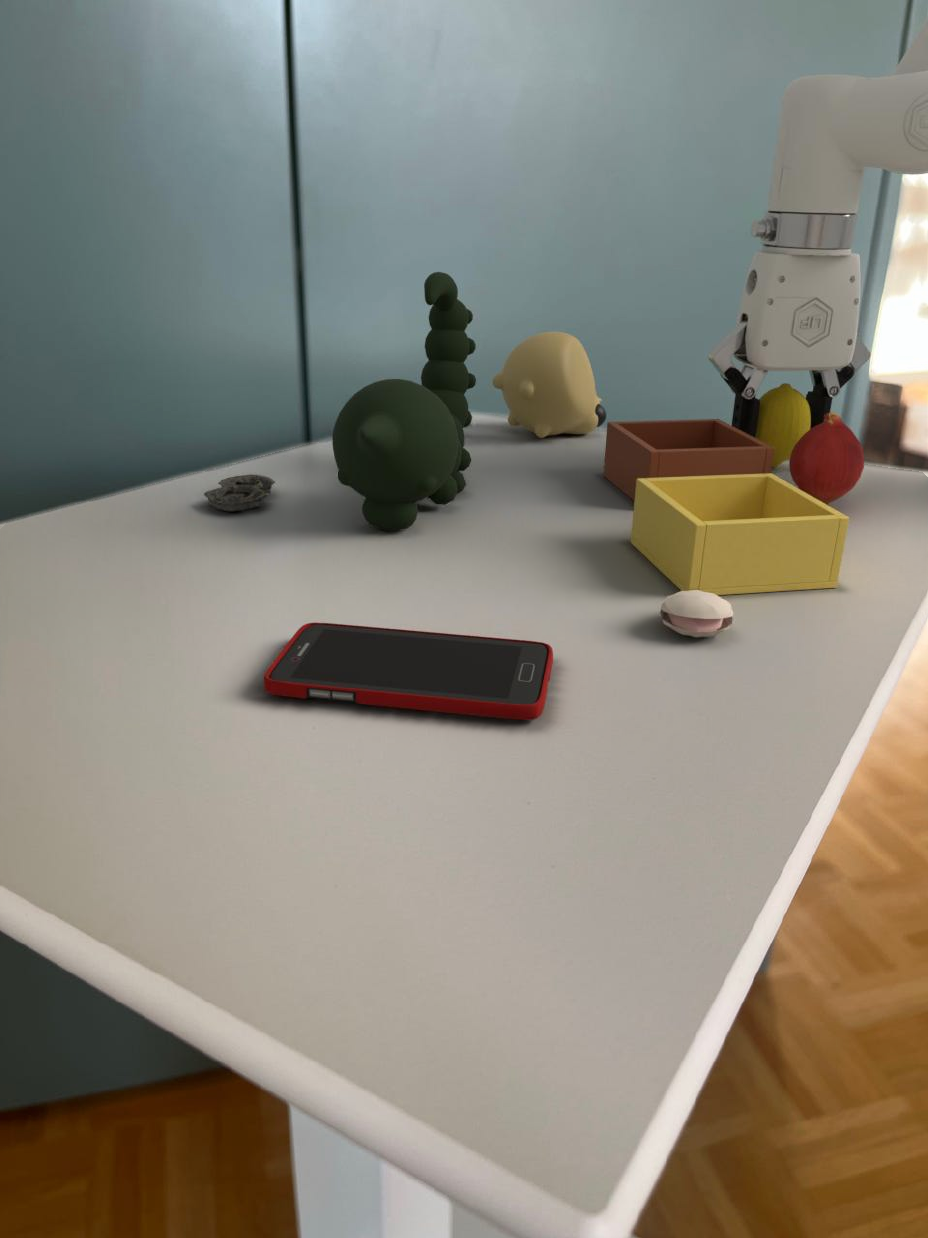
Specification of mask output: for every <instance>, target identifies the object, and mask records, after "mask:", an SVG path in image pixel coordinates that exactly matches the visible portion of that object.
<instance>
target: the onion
mask: <svg viewBox="0 0 928 1238" xmlns="http://www.w3.org/2000/svg"><path fill="white" fill-rule="evenodd" d="M824 418H825V420H824V422H823V423H821V424H819V425H817V426H815V427H813V428H812V429H810V430H809V431H807V432H806V433H805V434H804V435H803V436H802V437H801V438H800V439H799V441H798V442H797V443H796V445H795V446H794V448H793V450H792V452H791V456H790V460H788V461H789V473H790V476H791V479H792V481H793V482H794V484H795V485H796V486H797V488H798V489H800V490H802V491H803V492H805V493H807V494H809V495H810V496H812V497H814V498H816V499H817V500H819V501H821V502H823V503H824V504H826V505H828V504H830V503H832V502H835V501H836V500H838V499H840V498H842V497H844V496H845V495H846V494H847V493H849V492H850V491H851V490H852V489H853V488H854V487H855V486H856V484H857V483H858V482H859V480H860V479H861V477H862V474H863V472H864V469H865V454H864V449H863V446H862V444H861V442H860V440H859V439H858V438H857V435H855V433H854V432H853V430H852V429H851V428H850V427H848V425H846V424H845V423H844V421H843V420H842V418H841V416H840V415H839V414H838V413H837V412H835V411H830V413H828V414H826V415H824Z"/></svg>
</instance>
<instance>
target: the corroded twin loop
mask: <svg viewBox="0 0 928 1238" xmlns="http://www.w3.org/2000/svg"><path fill="white" fill-rule="evenodd" d="M217 484H218V485H219V486H221V487H218V488H214V489H211V490H207V491H206V492H204V496H205V497H206V498H207V501H208V503H209V504H210V505H211V506H212V507H213V508H215V509H217V510H220V511H225V512H237V511H245V510H248V509H253V508H259V507H261V506H262V505H263V502H264V501H263V500H264V499H263V498H264V497H265V496H267V495H269V494H271V492H272V491H271V490H272V487H273V485H275V484H276V481H275V480H274V479H273V478H271V477H269V476H264V475H260V474H242V475H235V476H231V477H230V476H229V477H226V478H223V479H221V480H219V482H217Z"/></svg>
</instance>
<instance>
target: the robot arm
mask: <svg viewBox="0 0 928 1238" xmlns="http://www.w3.org/2000/svg"><path fill="white" fill-rule="evenodd" d="M781 98H782V99H781V104H780V109H779V117H778V118H779V119H778V125H777V126H778V128H777V134H776V143H775V148H774V156H773V164H772V172H771V179H770V186H769V187H770V188H769V194H768V201H767V209H766V212H765V213H764V216H763V219H761V220H754V221H753V222H752V223H751V226H750V235H751V236H752V237H753V238H759V239H760V244H761V250H755V251H754V254H753V257H752V259H751V262H750V266H749V269H748V272H747V275H746V278H745V282H744V285H743V289H742V294H741V298H740V303H739V306H738V311H737V317H736V324H735V328H733V329H732V330H731V332H729V333H728V334H727V335H725V337H724V338H722V339H721V341H720V342H719V343H717V344H716V345H715V346H714V347H713V348H712V349H711V350H709V353H708V354H707V359H708V361H710V363H711V364H712V366H713V367H714V368H715V370H716V371H717V372H718V373H719V374H720V377H721V378H722V379H723V381H724V382H725V383H726V384H727V386H728V387H729V388H730V391H731V392H732V394H734V402H733V409H732V410H733V411H732V418H731V426H733V427H735V428H737V429H739V430H741V431H743V432H745V433H747V434H749V435H750V436H752V437H754V438H755V436H756V429H757V422H758V414H759V407H760V401H759V399H760V398H756V395H757V393H758V390H759V389H760V386H761V385H762V383H763V381H764V379H765V378H766V376H767V374H768V372H770V371H771V372H775V371H776V372H778V371H779V372H790V371H793V372H795V371H808V372H809V377H810V379H811V383H812V390H809V391H807V393H806V395H805V398H806V400H807V402H808V404H809V407H810V414H811V426H810V429H812V428H813V427H815V426H817V425H819V424H821V423H823V422H824V420H825V418H824V415H826V414H828V413H830V412H831V409H832V404H833V398H836V397H837V396H839V395H840V392H841V389H842V388H843V387H844V386H845V385H846V384H847V383H848V382H849V381H850V380H851V379H852V378H853V377H854V375H855V373H856V372H858V371H859V370H860V369H861V368H862V367H863V366H864V365H865V364H866V363H867V362H868V360H869V359H870V358H871V356H872V355H871V352H870V350H869V349H868V348H867V347H868V346H866V345H865V343H864V342H863V340H862V339H861V338H860V337H859V336H858V329H859V321H860V309H861V308H860V307H861V293H862V291H861V290H862V289H861V288H862V285H861V284H862V279H861V278H862V276H861V256H860V254H859V253H854V252H852V248H853V243H854V237H855V232H856V231H855V230H856V224H857V219H858V213H859V212H858V211H859V207H860V206H859V205H860V200H861V193H862V187H863V182H864V181H863V180H864V176H865V171H866V168H874V169H883V170H885V171H887V172H890V173H894V174H899V175H911V176H913V175H925V174H926V175H927V174H928V16H927V17H926V18H925V19H924V21H923V23H922V25H921V26H920V28H919V30H918V31H917V33H916V34H915V36H914V37H913V39H912V41H911V43H910V44H909V46H908V48H907V50H906V51H905V52H904V54H903V56H902V58H901V60H900V61H899V62H898V64H897V66H896V67H895V70H894V71H893V73H892V74H891V75H887V76H875V77H865V76H861V75H855V74H845V73H841V74H838V73H827V74H825V73H824V74H823V73H822V74H810V75H805V76H804V75H803V76H800V77H797V78H795V79H792V81H791V82H789V83H788V85H787V86H786V88H785V89H784V92H783V94H782V97H781ZM733 356H734V357H733ZM732 357H733V358H735V359H736V360H737V361H739V362H741V366H740V367H739V369H738V368H736V366H735V365H734V363H733V361H732Z"/></svg>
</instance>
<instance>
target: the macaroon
mask: <svg viewBox="0 0 928 1238" xmlns="http://www.w3.org/2000/svg"><path fill="white" fill-rule="evenodd" d="M659 614H660V617H661V619H662V623H663V625H665V626H666V627H669V628H670V629H671V630H673V631H674V632H676V633H678V634H680V635H682V636H689V637H693V638H696V639H697V638H702V637H704V638H711V637H714V636H716V635H718V634H721V633H723V632H725V631H727V630H729V629H730V627H731V626H732V624H733V620H734V618H733V617H734V611H733V608H732V605H731V603H730V602H729V601H728V600H726V599H723V598H722V597H721V596H720V595H716V594H713V593H708V592H703V591H699V590H692V591H681V590H680V591H678V592H676V593H673V594H670V595H667V596H666V597H665V599H664V600H663V602H662V603H661V605H660V612H659Z"/></svg>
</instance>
